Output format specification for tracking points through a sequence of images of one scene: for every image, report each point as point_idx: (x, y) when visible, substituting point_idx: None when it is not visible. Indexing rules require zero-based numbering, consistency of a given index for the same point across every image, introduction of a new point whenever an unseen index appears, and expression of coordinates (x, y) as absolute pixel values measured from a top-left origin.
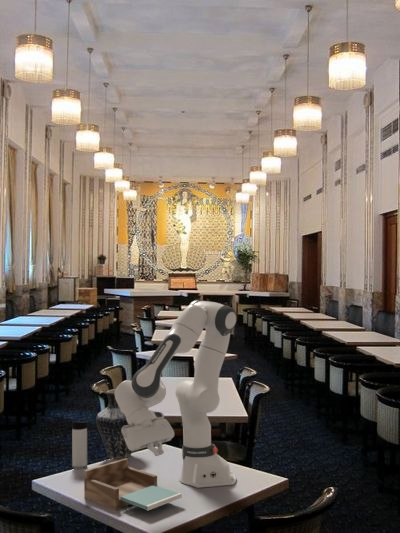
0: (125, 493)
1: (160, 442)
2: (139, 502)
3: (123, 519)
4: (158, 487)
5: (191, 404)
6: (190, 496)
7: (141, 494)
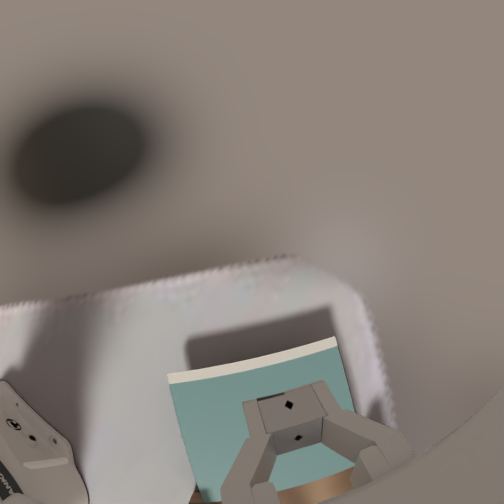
0: (318, 501)
1: (241, 495)
2: (341, 386)
3: (378, 374)
4: (204, 477)
5: None
6: (114, 414)
7: (297, 452)
